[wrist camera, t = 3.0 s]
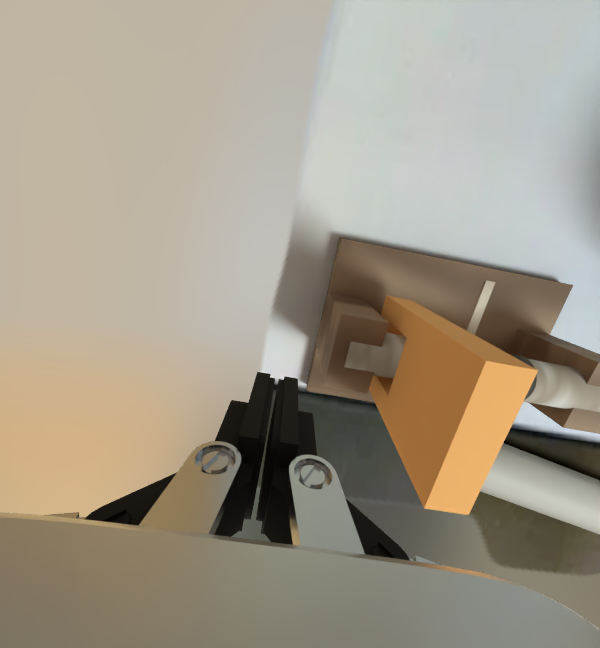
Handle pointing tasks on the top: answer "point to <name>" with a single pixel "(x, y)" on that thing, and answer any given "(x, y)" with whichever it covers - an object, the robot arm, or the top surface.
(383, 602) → the robot arm
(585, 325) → the top surface
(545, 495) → the tube
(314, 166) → the top surface
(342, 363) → the pipe stand
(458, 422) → the orange flat block
